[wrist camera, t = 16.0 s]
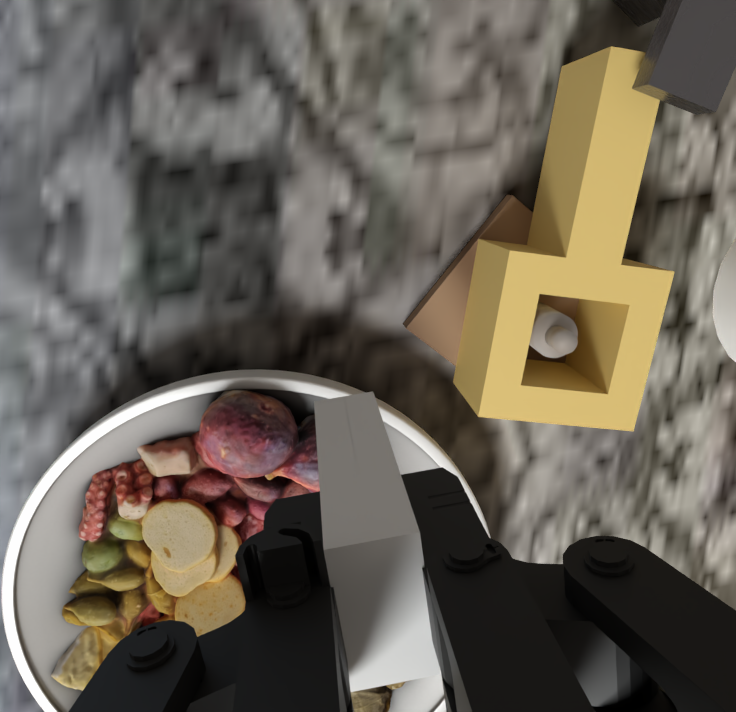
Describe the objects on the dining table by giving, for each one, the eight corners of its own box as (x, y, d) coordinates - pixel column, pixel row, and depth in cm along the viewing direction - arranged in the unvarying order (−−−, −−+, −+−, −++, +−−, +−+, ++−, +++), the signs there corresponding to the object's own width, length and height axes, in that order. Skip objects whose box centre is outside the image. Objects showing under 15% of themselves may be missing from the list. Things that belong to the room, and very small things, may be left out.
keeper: (638, -58, 36) (761, -141, 26) (704, 14, 37) (844, -40, 28) (531, 78, 37) (611, 46, 28) (599, 143, 39) (697, 133, 29)
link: (587, 395, 42) (633, 431, 36) (453, 382, 41) (478, 416, 35) (661, 83, 37) (727, 66, 31) (510, 57, 36) (550, 35, 30)
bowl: (471, 717, 50) (502, 813, 43) (70, 758, 47) (26, 869, 40) (481, 342, 42) (521, 379, 34) (-4, 365, 39) (-77, 411, 32)
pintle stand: (506, 194, 39) (561, 200, 31) (620, 294, 42) (699, 323, 33) (403, 323, 41) (429, 362, 32) (518, 412, 43) (570, 468, 35)
